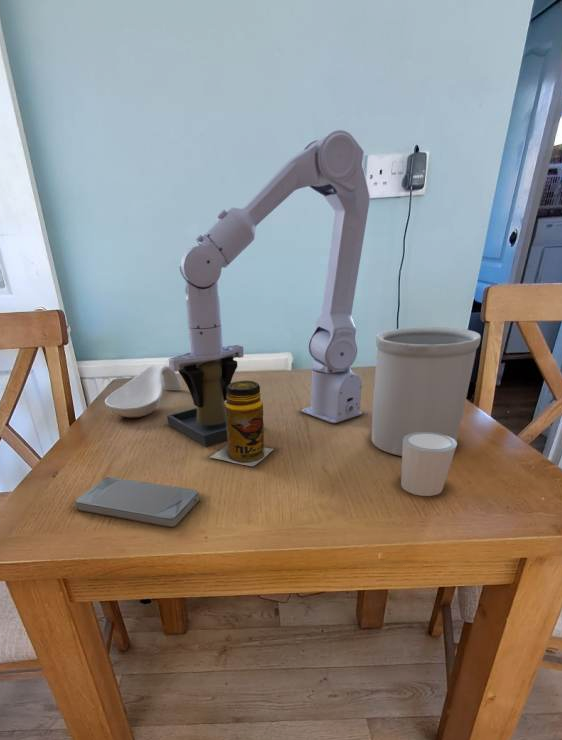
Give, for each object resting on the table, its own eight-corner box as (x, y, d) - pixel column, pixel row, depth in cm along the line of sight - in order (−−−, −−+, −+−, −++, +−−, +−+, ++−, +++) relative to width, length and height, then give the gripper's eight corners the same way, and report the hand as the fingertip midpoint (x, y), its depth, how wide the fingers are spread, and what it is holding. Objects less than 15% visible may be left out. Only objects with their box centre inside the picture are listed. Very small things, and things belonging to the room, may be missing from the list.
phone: (108, 483, 71) (107, 476, 71) (202, 498, 66) (201, 490, 65) (74, 509, 65) (72, 501, 64) (174, 528, 60) (173, 519, 59)
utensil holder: (351, 433, 84) (359, 331, 75) (421, 421, 87) (437, 322, 78) (398, 466, 71) (414, 349, 62) (478, 450, 75) (505, 337, 66)
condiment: (254, 467, 74) (251, 393, 67) (209, 458, 77) (203, 387, 71) (274, 450, 79) (273, 380, 73) (231, 442, 83) (227, 375, 77)
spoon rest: (148, 425, 92) (142, 390, 89) (97, 421, 96) (89, 387, 92) (194, 390, 111) (190, 360, 108) (150, 388, 115) (146, 358, 111)
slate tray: (260, 429, 87) (260, 419, 86) (205, 446, 82) (204, 435, 81) (219, 411, 98) (219, 401, 96) (168, 425, 92) (166, 415, 91)
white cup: (407, 471, 70) (414, 427, 66) (454, 483, 66) (464, 437, 62) (388, 489, 66) (394, 443, 62) (437, 503, 62) (447, 455, 58)
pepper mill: (214, 427, 85) (209, 366, 80) (189, 421, 88) (183, 363, 83) (234, 417, 89) (230, 359, 84) (210, 412, 92) (205, 355, 87)
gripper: (226, 317, 86) (231, 389, 93) (156, 329, 79) (167, 406, 87) (248, 322, 81) (251, 397, 88) (176, 334, 74) (185, 415, 81)
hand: (211, 402), depth 87 cm, fingers closed on pepper mill, 5 cm apart
